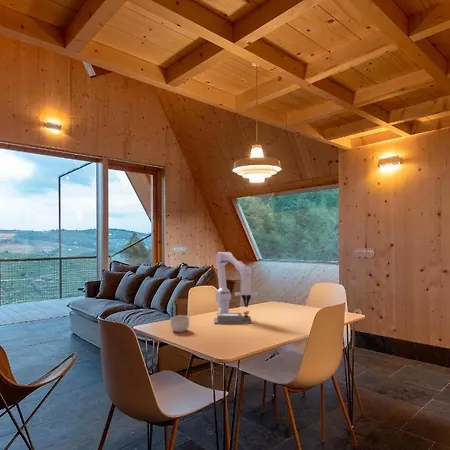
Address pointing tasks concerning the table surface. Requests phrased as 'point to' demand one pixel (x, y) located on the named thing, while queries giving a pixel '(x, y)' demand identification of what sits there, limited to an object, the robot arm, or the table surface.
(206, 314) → the table surface
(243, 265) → the robot arm
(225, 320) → the housing
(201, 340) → the table surface
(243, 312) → the plunger
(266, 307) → the table surface
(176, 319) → the teacup
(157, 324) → the table surface
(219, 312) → the cartridge
